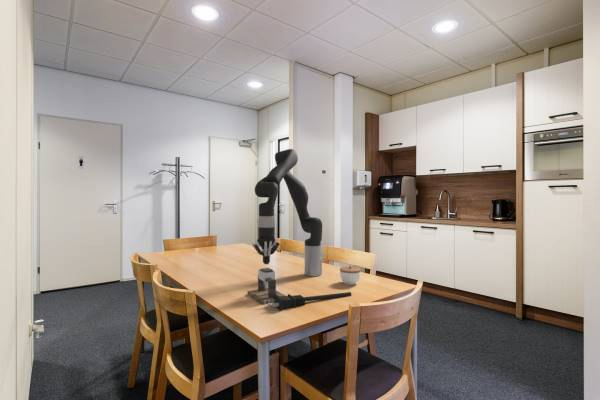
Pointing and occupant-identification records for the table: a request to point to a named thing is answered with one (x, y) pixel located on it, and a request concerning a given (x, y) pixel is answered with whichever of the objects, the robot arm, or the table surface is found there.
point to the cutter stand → (264, 291)
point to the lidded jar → (350, 274)
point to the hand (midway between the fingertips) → (266, 263)
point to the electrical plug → (299, 300)
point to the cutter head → (266, 275)
